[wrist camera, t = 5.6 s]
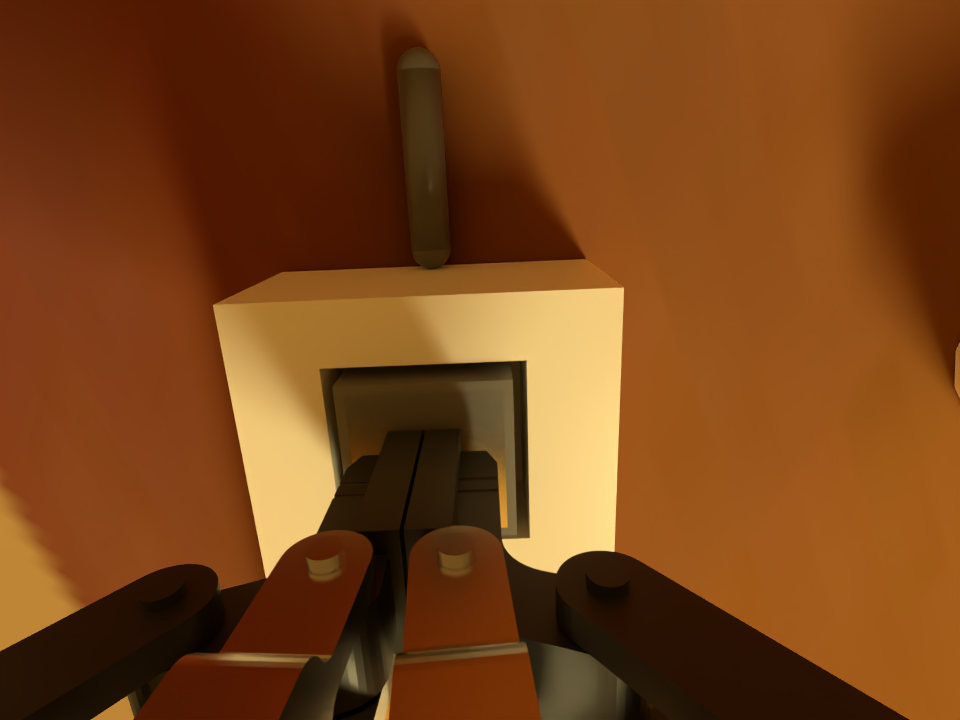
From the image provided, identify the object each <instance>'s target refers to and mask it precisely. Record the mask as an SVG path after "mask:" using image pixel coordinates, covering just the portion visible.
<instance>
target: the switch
mask: <svg viewBox="0 0 960 720" xmlns="http://www.w3.org/2000/svg"><path fill="white" fill-rule="evenodd" d="M332 390H333V398H334V405H335V413H336V420H337V428H338V435H339V443H340V450H341V458H342V465H343V473H345V471H346V469H347V468H348V467H349V466H350V465H352V464H353V463H354V462H355V461H357V460H358V459H359V458H360V457H361V456H363V455H379V454H380V451H381V449H382V446H383V443H384V441H385V438H386V435H387V433H388V431H411V430H424V433H425V431H426V430H433V429H459V428H460V429H461V435H462V451H487V452H488V453H489V454H490V455H491V456H492V457H493V458H494V459H495V461H496V462H497V466H498V483H499V500H500V517H501V534H502V536H504V535H517V514H516V477H515V439H514V401H513V377H512V371H511V364H510V361H499V362H474V363H450V364H425V365H400V366H375V367H350V368H345V370H344V371H343V373H342V374H341V375H340V377H339V378H338V380H337V381H336V382H335V384H334V385H333V387H332Z"/></svg>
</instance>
